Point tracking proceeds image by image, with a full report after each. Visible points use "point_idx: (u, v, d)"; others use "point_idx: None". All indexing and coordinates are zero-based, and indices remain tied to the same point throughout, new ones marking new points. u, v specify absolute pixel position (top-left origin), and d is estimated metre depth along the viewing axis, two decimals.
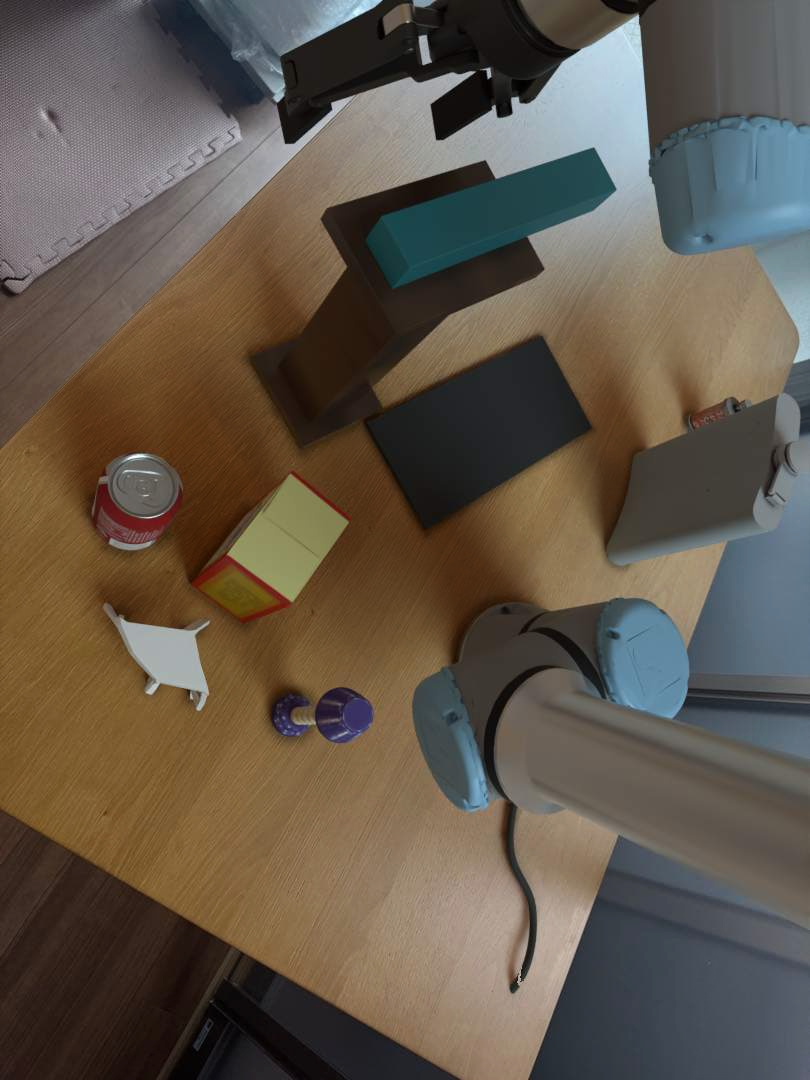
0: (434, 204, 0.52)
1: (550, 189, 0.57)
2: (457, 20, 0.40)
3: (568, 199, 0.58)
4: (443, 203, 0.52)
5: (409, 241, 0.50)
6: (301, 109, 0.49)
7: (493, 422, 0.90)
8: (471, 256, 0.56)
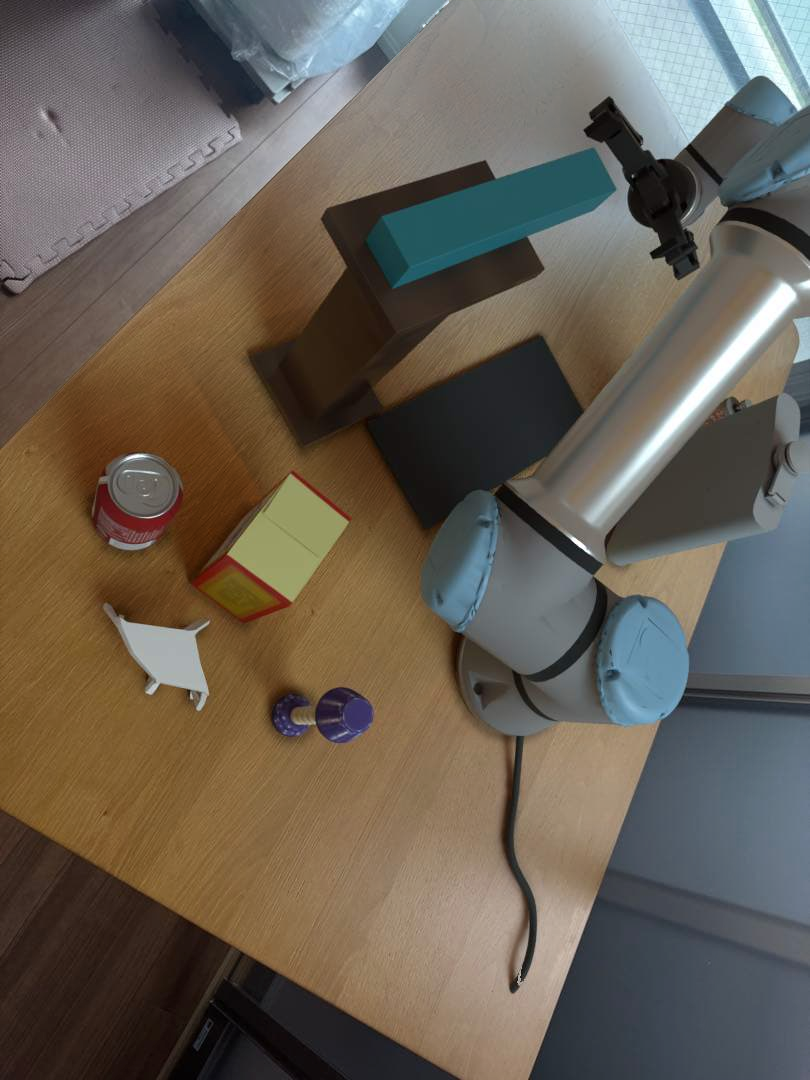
0: (434, 204, 0.52)
1: (550, 189, 0.57)
2: None
3: (568, 199, 0.58)
4: (443, 203, 0.52)
5: (409, 241, 0.50)
6: None
7: (493, 422, 0.90)
8: (471, 256, 0.56)
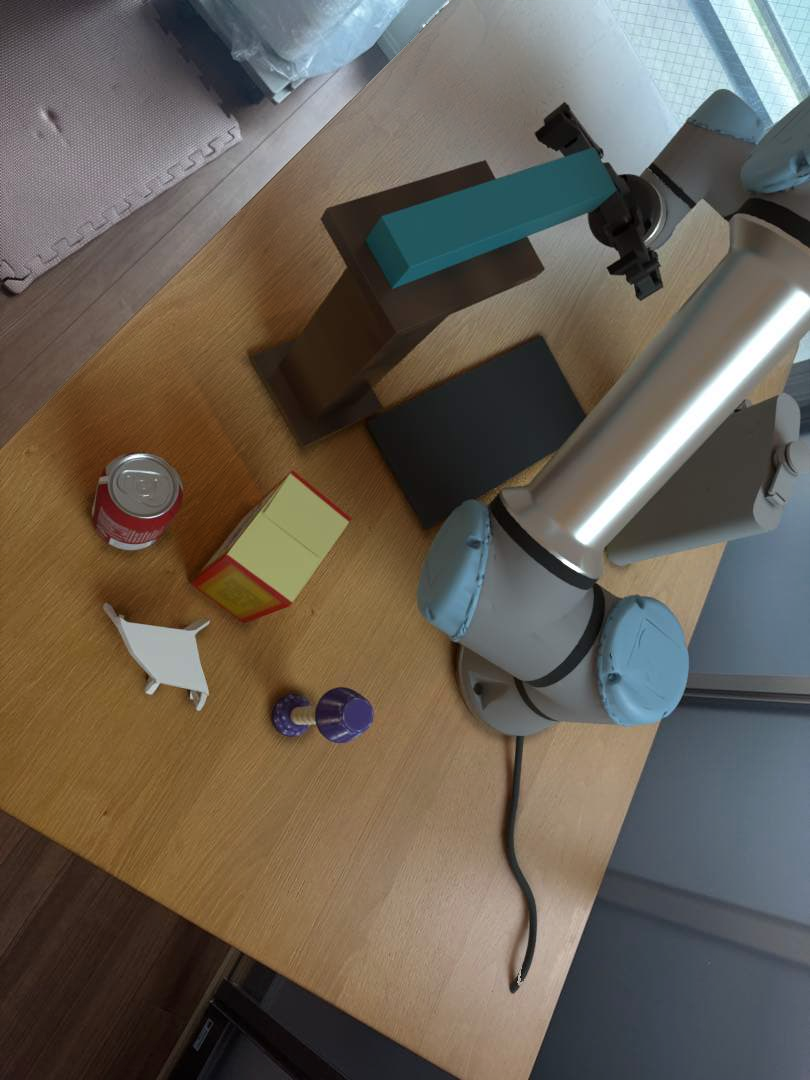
0: (434, 204, 0.52)
1: (550, 189, 0.57)
2: None
3: (568, 199, 0.58)
4: (443, 203, 0.52)
5: (409, 241, 0.50)
6: None
7: (493, 422, 0.90)
8: (471, 256, 0.56)
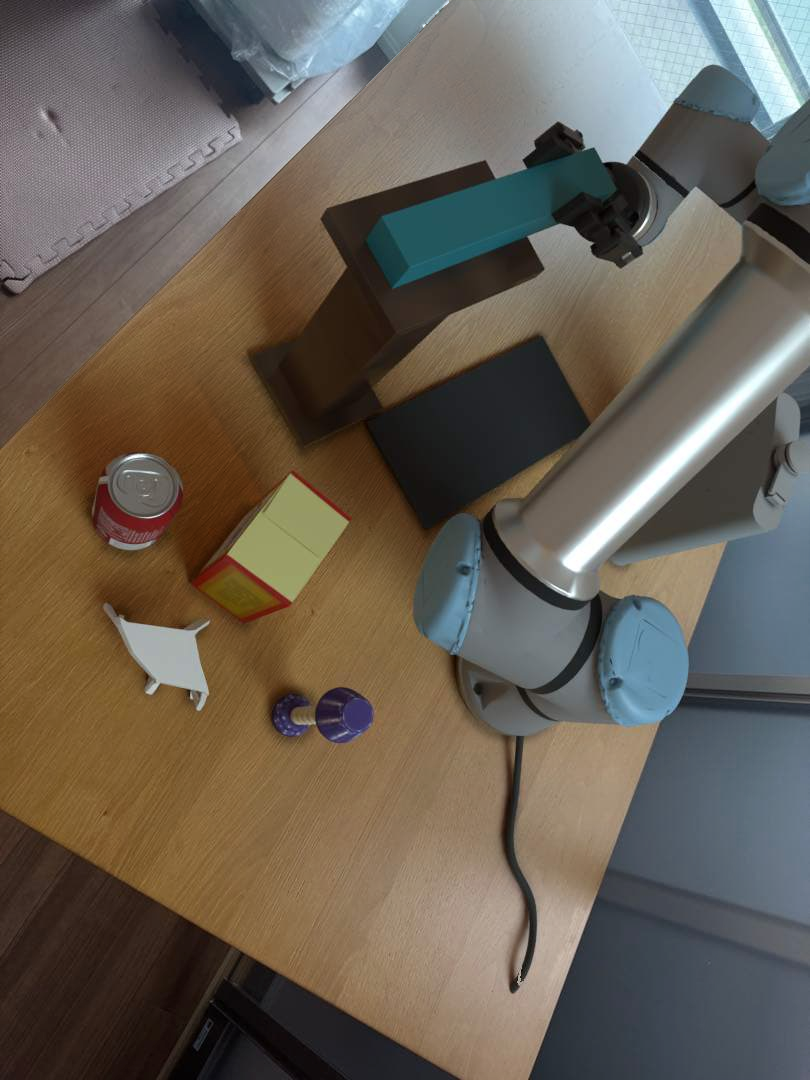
0: (434, 204, 0.52)
1: (550, 189, 0.57)
2: None
3: (568, 199, 0.58)
4: (443, 203, 0.52)
5: (409, 241, 0.50)
6: None
7: (493, 422, 0.90)
8: (471, 256, 0.56)
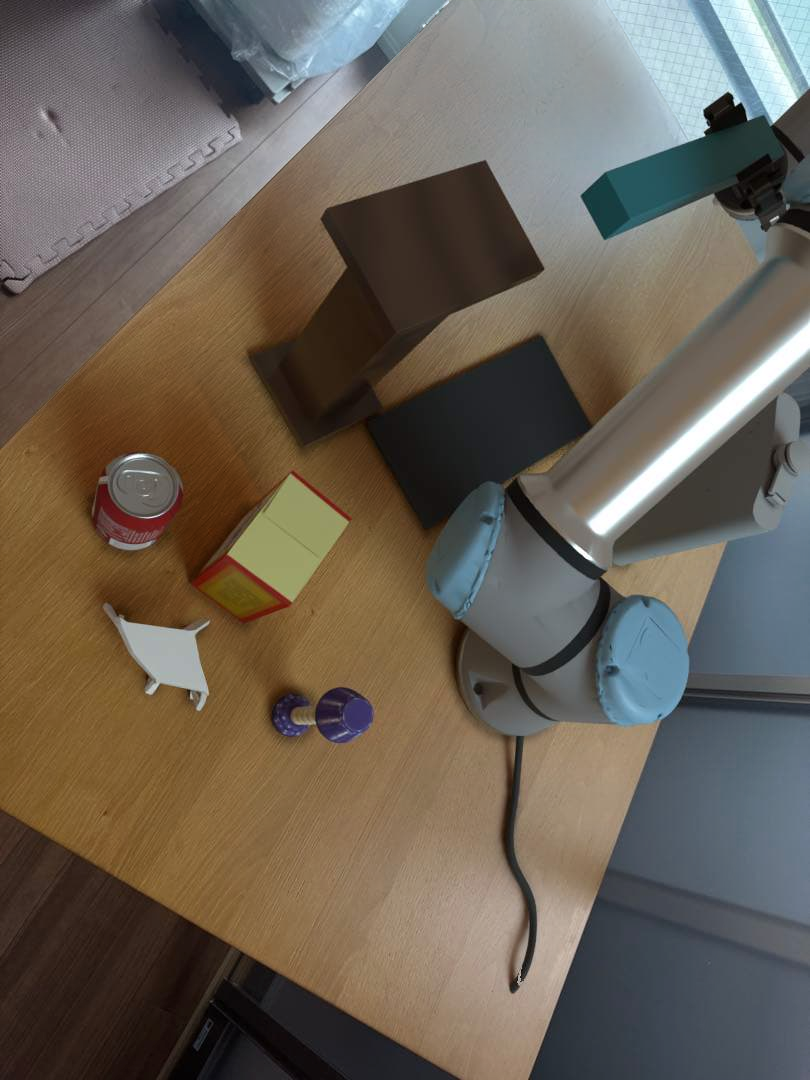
0: (645, 162, 0.57)
1: (732, 152, 0.62)
2: None
3: (747, 161, 0.63)
4: (651, 162, 0.57)
5: (629, 195, 0.55)
6: None
7: (493, 422, 0.90)
8: (665, 213, 0.61)
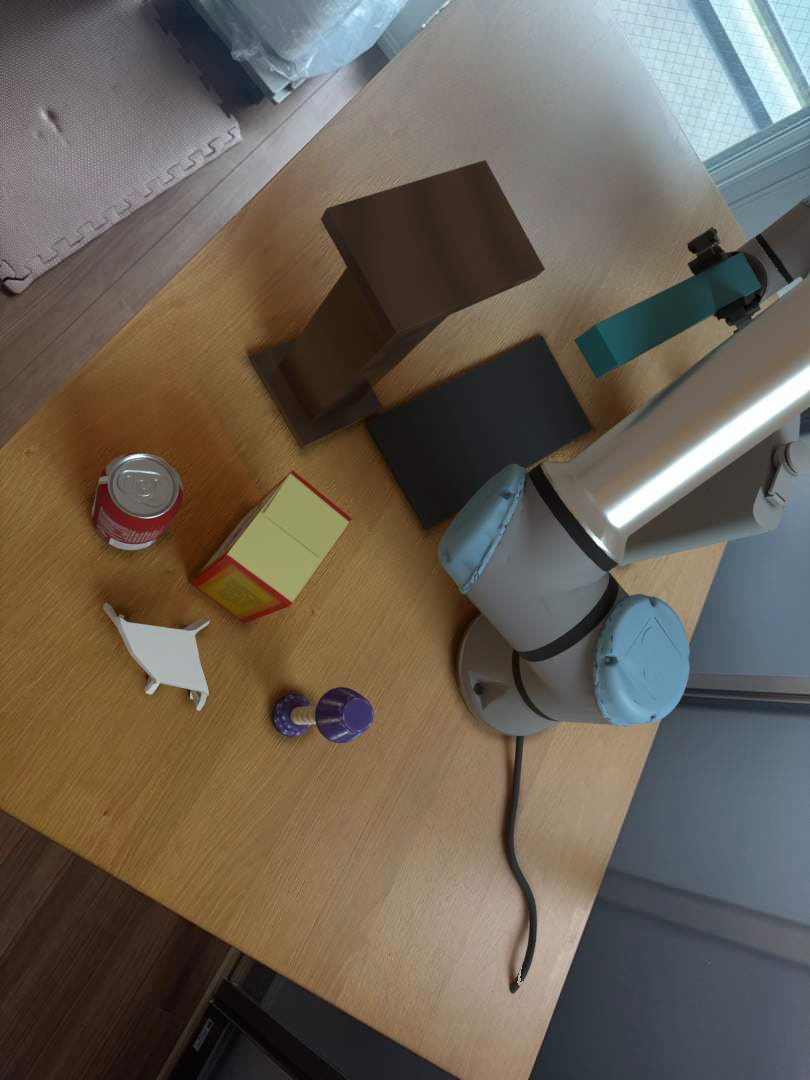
0: (631, 311, 0.64)
1: (712, 291, 0.69)
2: None
3: (726, 298, 0.70)
4: (637, 310, 0.64)
5: (617, 343, 0.62)
6: (713, 251, 0.71)
7: (493, 422, 0.90)
8: (652, 348, 0.68)
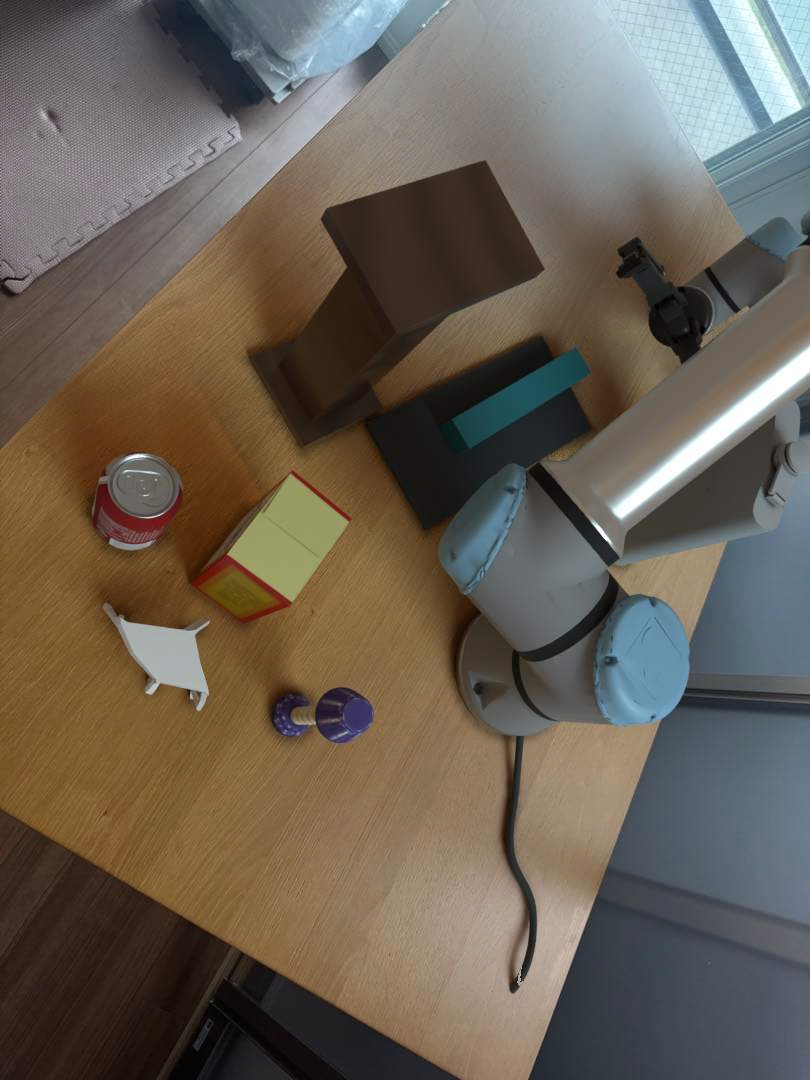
0: (481, 405, 0.86)
1: (549, 382, 0.92)
2: None
3: (561, 386, 0.92)
4: (486, 404, 0.87)
5: (468, 432, 0.85)
6: (638, 256, 0.80)
7: None
8: None
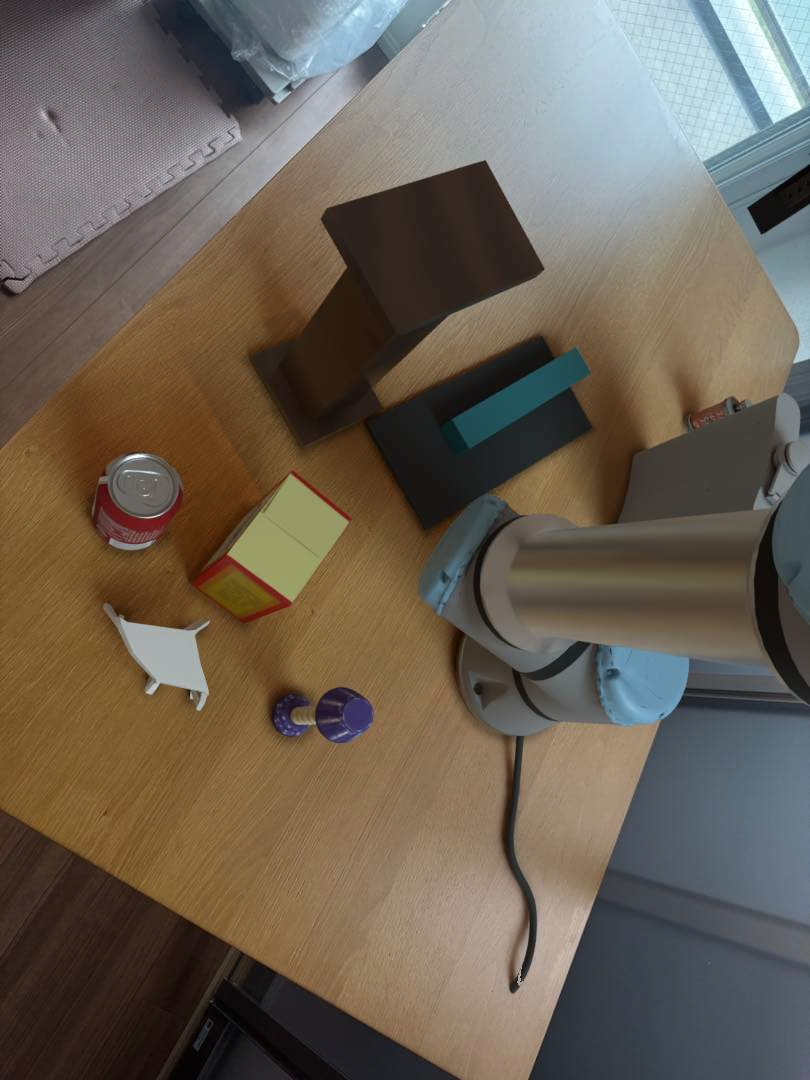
0: (481, 405, 0.86)
1: (549, 382, 0.92)
2: None
3: (561, 386, 0.92)
4: (486, 404, 0.87)
5: (468, 432, 0.85)
6: (803, 197, 0.60)
7: None
8: None
